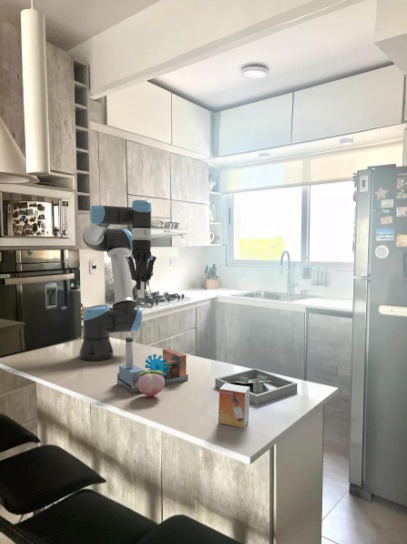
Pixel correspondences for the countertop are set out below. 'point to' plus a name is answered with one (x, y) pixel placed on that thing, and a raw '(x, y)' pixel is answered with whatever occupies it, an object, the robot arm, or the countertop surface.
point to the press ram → (129, 365)
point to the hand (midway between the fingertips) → (141, 297)
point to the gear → (157, 364)
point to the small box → (234, 405)
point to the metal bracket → (254, 382)
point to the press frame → (173, 376)
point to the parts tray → (261, 398)
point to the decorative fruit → (151, 382)
